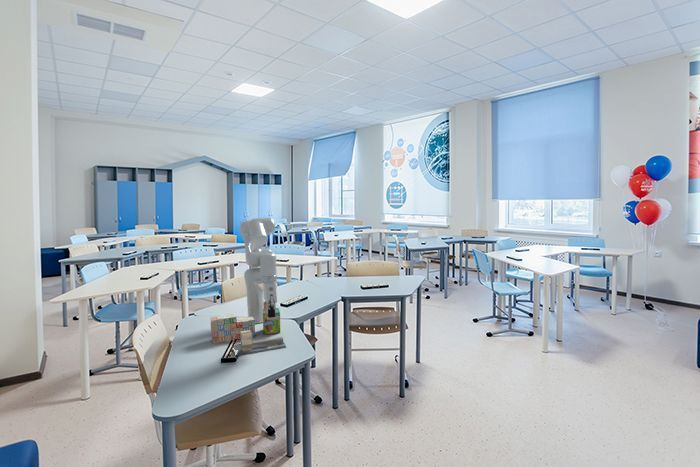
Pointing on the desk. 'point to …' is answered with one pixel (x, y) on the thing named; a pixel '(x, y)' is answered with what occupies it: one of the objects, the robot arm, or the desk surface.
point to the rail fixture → (257, 344)
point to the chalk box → (271, 324)
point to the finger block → (267, 311)
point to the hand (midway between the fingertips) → (270, 315)
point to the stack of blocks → (230, 327)
